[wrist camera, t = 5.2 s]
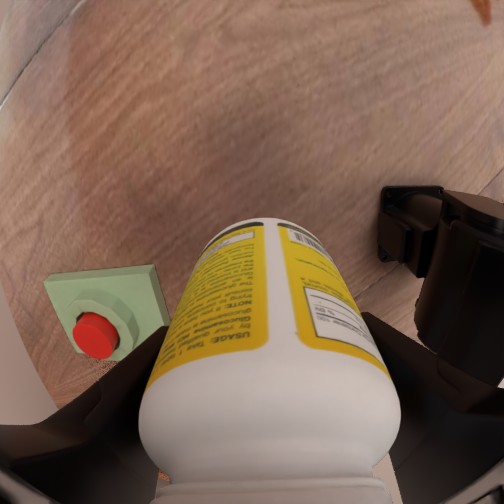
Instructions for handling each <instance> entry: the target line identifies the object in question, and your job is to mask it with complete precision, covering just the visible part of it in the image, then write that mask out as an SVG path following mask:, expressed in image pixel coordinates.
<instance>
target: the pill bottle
mask: <svg viewBox="0 0 504 504" xmlns="http://www.w3.org/2000/svg"><path fill="white" fill-rule="evenodd" d="M400 419H401V410H400V402H399V398H398V395H397V392H396V389H395V386H394V384H393V382H392V379H391V377H390V375H389V373H388V370H387V368H386V366H385V364H384V362H383V360H382V357H381V355H380V353H379V351H378V349H377V347H376V345H375V343H374V340H373V338H372V336H371V334H370V332H369V330H368V328H367V326H366V324H365V322H364V320H363V318H362V315H361V314H360V312H359V310H358V307H357V306H356V304H355V302H354V300H353V298H352V296H351V294H350V292H349V290H348V288H347V286H346V284H345V282H344V281H343V279H342V277H341V275H340V273H339V271H338V269H337V267H336V265H335V263H334V261H333V260H332V258H331V257H330V255H329V253H328V252H327V250H326V249H325V247H324V246H323V245H322V243H321V242H320V241H319V240H318V239H317V238H316V237H315V236H314V235H313V234H311V233H310V232H309V231H307V230H306V229H304V228H302V227H300V226H298V225H296V224H294V223H292V222H288V221H285V220H281V219H275V218H255V219H249V220H245V221H241V222H238V223H236V224H233V225H231V226H229V227H227V228H226V229H224V230H223V231H221V232H220V233H218V234H217V235H216V236H215V237H214V238H213V239H212V240H211V241H210V242H209V243H208V244H207V245H206V247H205V248H204V250H203V251H202V253H201V254H200V256H199V258H198V260H197V262H196V264H195V267H194V269H193V271H192V273H191V276H190V278H189V281H188V283H187V285H186V288H185V290H184V292H183V295H182V297H181V300H180V302H179V304H178V306H177V309H176V312H175V314H174V317H173V319H172V321H171V324H170V326H169V329H168V331H167V334H166V337H165V339H164V342H163V344H162V347H161V349H160V352H159V355H158V357H157V360H156V362H155V365H154V368H153V370H152V373H151V375H150V378H149V381H148V383H147V386H146V389H145V392H144V394H143V398H142V402H141V406H140V411H139V424H138V425H139V434H140V438H141V441H142V444H143V447H144V449H145V451H146V452H147V454H148V456H149V457H150V459H151V460H152V461H153V462H154V464H155V465H156V466H157V467H158V468H159V469H160V470H161V471H162V472H164V473H165V474H166V475H167V476H169V477H170V485H167V486H165V487H162V488H160V489H158V490H157V491H156V493H155V498H156V499H154V500H152V501H151V502H150V504H393V501H392V498H391V494H390V493H389V492H388V491H386V489H387V483H386V482H385V481H384V480H382V479H381V478H376V477H373V476H372V468H373V467H374V466H376V465H377V464H378V463H379V462H380V461H381V460H382V458H383V457H384V456H385V455H386V454H387V453H388V451H389V450H390V448H391V446H392V445H393V443H394V441H395V439H396V436H397V434H398V431H399V426H400Z"/></svg>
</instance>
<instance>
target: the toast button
mask: <svg viewBox="0 0 504 504" xmlns="http://www.w3.org/2000/svg"><path fill="white" fill-rule="evenodd" d="M72 335H73V339H74V341H75V343H76V344H77V346H78V347H79V348H80V349H81V350H82V351H83V352H84V353H86V354H87V355H89V356H91V357H93V358H96V359H107V358H109V357H110V356H111V355H112V353H113V351H114V349H115V347H116V345H117V343H118V340H119V335H118V331H117V329H116V327H115V326H114V325H113V324H112V323H111V322H110V321H109V320H108V319H107V318H105V317H103V316H101V315H99V314H97V313H94V312H88V313H85V314H84V315H82V317H81V318H80V319H79V321H78V322H77V324H76V325H75V327H74V328H73V332H72Z"/></svg>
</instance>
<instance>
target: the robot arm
mask: <svg viewBox="0 0 504 504" xmlns="http://www.w3.org/2000/svg"><path fill="white" fill-rule="evenodd" d="M388 190H389V191H390V193H389V195H387V194H386V193H387V191H388ZM439 190H440V193H438V192H439ZM377 242H378V243H379V249H378V258H379V260H380V261H381V262H390V261H397V262H398V263H399V264H401V265H402V264H404V265H405V266H406V267H407V268H408V269H409V270H410V271H411V272H412V273H413V274H414V275H415V276H416V277H417V278H423V277H424V278H425V279H424V283H423V286H422V289H421V292H420V295H419V298H418V299H417V301H416V304H415V307H416V310H415V314H414V322H415V324H416V327H417V330H418V333H417V337H418V338H419V340H420V341H421V342H422V343H423V344H424V346H426V347H427V348H428V349H429V350H428V349H427V348H425V347H423V346H422V345H420V344H419V343H417V342H415V341H414V340H412V339H411V338H409V337H407V336H406V335H404V334H403V333H401V332H399V331H398V330H396V329H395V328H393V327H391V326H390V325H388V324H386V323H385V322H383V321H382V320H380V319H378V318H377V317H375V316H373V315H372V314H370V313H368V312H362V313H360V314H361V315H362V318H363V320H364V322H365V324H366V326H367V328H368V330H369V332H370V334H371V336H372V338H373V340H374V343H375V345H376V347H377V349H378V351H379V353H380V355H381V357H382V360H383V362H384V364H385V366H386V368H387V370H388V373H389V375H390V377H391V379H392V382H393V384H394V386H395V389H396V392H397V395H398V398H399V402H400V410H401V419H400V426H399V431H398V434H397V436H396V439H395V441H394V443H393V445H392V446H391V448H390V450H389V451H388V452H389V455H390V458H391V462H392V465H393V469H394V471H395V476H396V479H397V483H398V487H399V491H400V494H401V498H402V502H403V504H504V388H499V387H498V385H499V384H500V382H501V381H502V380H503V378H504V204H502V203H499V202H497V201H494V200H492V199H489V198H487V197H483V196H479V195H473V194H468V193H462V192H456V191H450V190H444V188H443V187H441V186H385V187H384V188H383V189H382V198H381V212H380V214H379V225H378V240H377ZM384 254H385V257H383V258H382V256H383V255H384ZM168 329H169V326H161V327H160V328H158V329H157V330H156V331H155V332H154V333H153V334H151V335H150V336H149V337H148V338H147V339H146V340H144V341H143V342H142V343H141V344H140V345H139V346H137V347H136V348H135V349H134V350H133V351H132V352H130V353H129V354H128V355H127V356H126V357H124V358H123V359H122V360H121V361H120V362H119V363H117V364H116V365H115V366H114V367H113V368H112V369H111V370H109V371H108V372H107V373H106V374H105V375H104V376H102V377H101V378H100V379H99V381H96V382H95V383H94V384H93V385H92V386H91V387H89V388H88V389H87V390H86V391H84V392H83V393H82V394H81V395H79V396H78V397H77V398H75V399H74V400H73V401H71V402H70V403H69V404H67V405H66V406H64V407H63V408H61V409H60V410H58V411H57V412H56V413H54V414H53V415H51V416H50V417H48V418H47V419H45V420H44V421H42V422H40V423H37V424H33V425H0V504H150V502H151V501H152V500H154V498H155V492H156V485H157V479H158V473H159V468H158V467H157V466H156V465H155V464H154V462H153V461H152V460H151V459H150V457H149V456H148V454H147V452H146V451H145V449H144V447H143V444H142V441H141V438H140V434H139V425H138V424H139V411H140V406H141V402H142V398H143V394H144V392H145V389H146V386H147V383H148V381H149V378H150V375H151V373H152V370H153V368H154V365H155V362H156V360H157V357H158V355H159V352H160V349H161V347H162V344H163V342H164V339H165V337H166V334H167V331H168ZM431 351H432V352H431Z"/></svg>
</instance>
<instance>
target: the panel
mask: <svg viewBox="0 0 504 504" xmlns="http://www.w3.org/2000/svg"><path fill="white" fill-rule="evenodd" d="M43 284H44V286H45V288H46V291H47V293H48V295H49V298H50V300H51V302H52V305H53V307H54V309H55V311H56V313H57V315H58V317H59V319H60V322H61V324H62V326H63V328H64V329H65V331H66V333H67V335H68V337H69V339H70V341H71V343H72V345H73V346H74V348H75V350H76V352H77V353H83V354H86V353H84V352H83V351H82V350H81V349H80V348H79V347H78V346H77V344H76V343H75V341H74V339H73V335H72V332H73V328H74V327H75V325H76V324H77V322H78V321H79V319H80V318H81V317H82V315H84V314H85V313H88V312H94V313H97V314H99V315H101V316H103V317H105V318H107V319H108V320H109V321H110V322H111V323H112V324H113V325H114V326H115V327H116V329H117V331H118V335H119V340H118V343H117V345H116V347H115V349H114V351H113V353H112V355H111V356H110V357H109V358H107V359H102V360H110V361H120V360H122V359H123V358H124V357H126V356H127V355H128V354H129V353H130V352H132V351H133V350H134V349H135V348H136V347H137V346H139V345H140V344H141V343H142V342H143V341H144V340H146V339H147V338H148V337H149V336H150V335H151V334H153V333H154V332H155V331H156V330H157V329H158V328H160V327H161V326H170V324H171V321H170V317H169V314H168V311H167V308H166V305H165V301H164V298H163V294H162V291H161V288H160V284H159V280H158V277H157V273H156V269H155V266H154V264H151V265H141V266H130V267H120V268H110V269H99V270H89V271H79V272H68V273H58V274H51V275H50V276H49V277H48V278H47V279H46V280H45V281H44V282H43Z"/></svg>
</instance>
